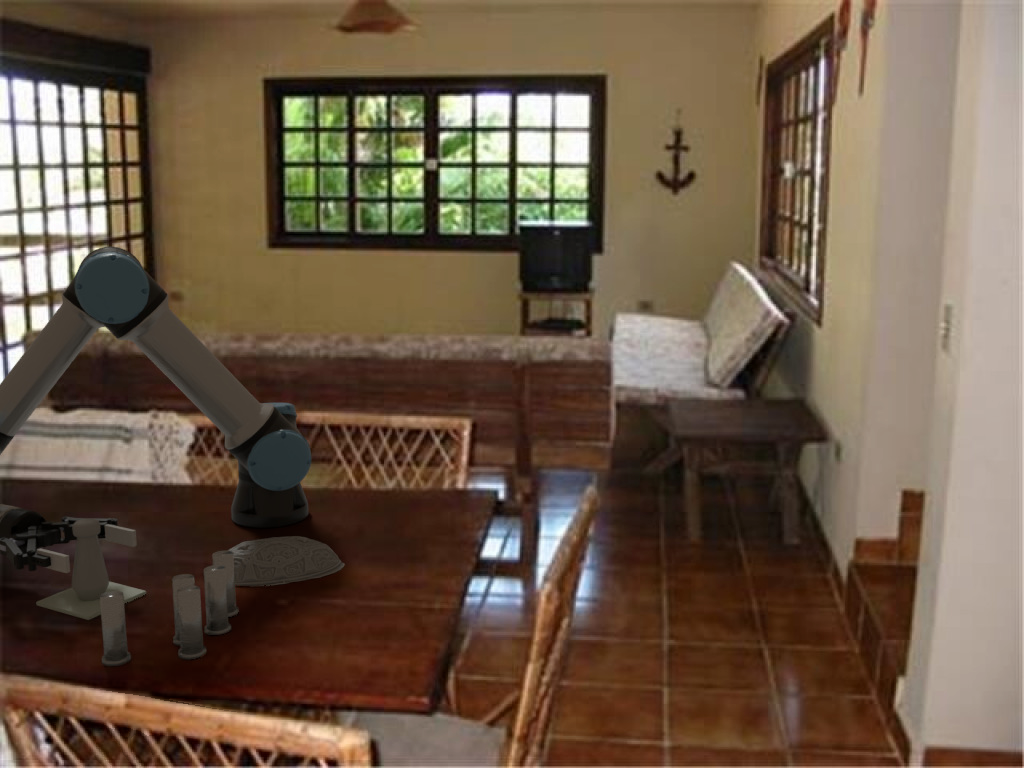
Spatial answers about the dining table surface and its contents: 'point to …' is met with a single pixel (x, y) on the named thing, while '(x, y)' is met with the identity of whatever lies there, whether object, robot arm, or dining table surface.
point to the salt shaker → (88, 561)
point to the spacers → (178, 612)
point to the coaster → (85, 609)
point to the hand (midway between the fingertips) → (102, 551)
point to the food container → (282, 561)
